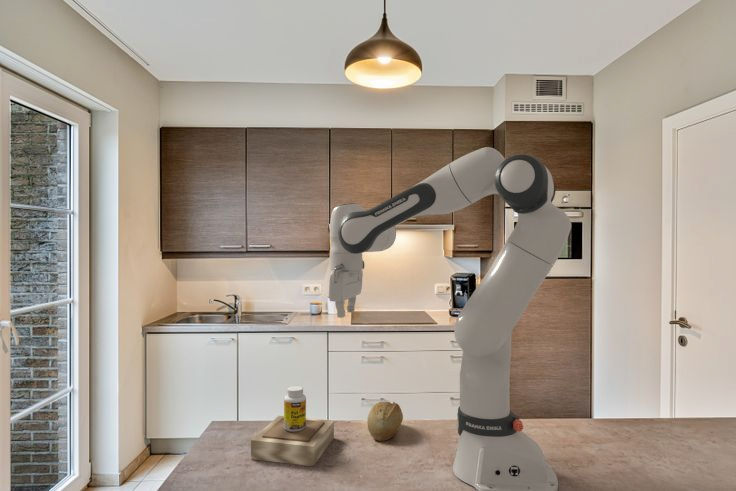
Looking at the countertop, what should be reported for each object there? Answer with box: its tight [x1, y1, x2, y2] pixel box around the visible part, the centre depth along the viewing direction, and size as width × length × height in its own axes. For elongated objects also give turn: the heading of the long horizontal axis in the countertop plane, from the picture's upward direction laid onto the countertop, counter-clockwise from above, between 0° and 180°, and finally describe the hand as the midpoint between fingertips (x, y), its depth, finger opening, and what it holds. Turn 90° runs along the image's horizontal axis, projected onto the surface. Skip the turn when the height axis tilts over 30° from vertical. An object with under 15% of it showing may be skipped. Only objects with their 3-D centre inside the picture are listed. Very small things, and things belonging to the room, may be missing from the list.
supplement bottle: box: [283, 385, 307, 432], centre depth 115 cm, size 6×6×10 cm
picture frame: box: [250, 415, 335, 467], centre depth 115 cm, size 16×16×5 cm
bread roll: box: [366, 401, 404, 442], centre depth 125 cm, size 10×15×8 cm, turn 171°
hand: (346, 314), depth 122 cm, fingers open, 8 cm apart
